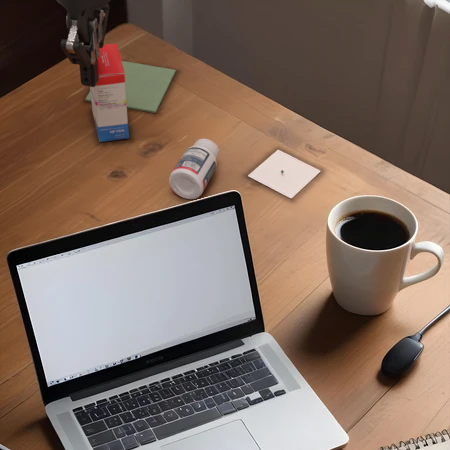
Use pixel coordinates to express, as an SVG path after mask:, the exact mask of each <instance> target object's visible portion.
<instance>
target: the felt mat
mask: <svg viewBox="0 0 450 450" xmlns="http://www.w3.org/2000/svg"><path fill="white" fill-rule="evenodd" d="M121 61H122V65H123V69H124V73H125V89H126V104H127V110H128V109H129V110H134V111H135V110H136V111H140V112H146V113H152V114H157V112H158V111H159V108H160V105H161V103H162V101H163V100H164V97H165V96H166V93H167V91H168V90H169V87H170V85H171V83H172V81H173V79H174V77H175V74H176V72H177V70H176V69H173V68H167V67H160V66H155V65H151V64H150V65H149V64H145V63H137V62H131V61H125V60H121ZM84 100H85V102H89V103H92V102H91V93H90V91H89V92H88V94H87V95H86V97H85V99H84Z"/></svg>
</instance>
